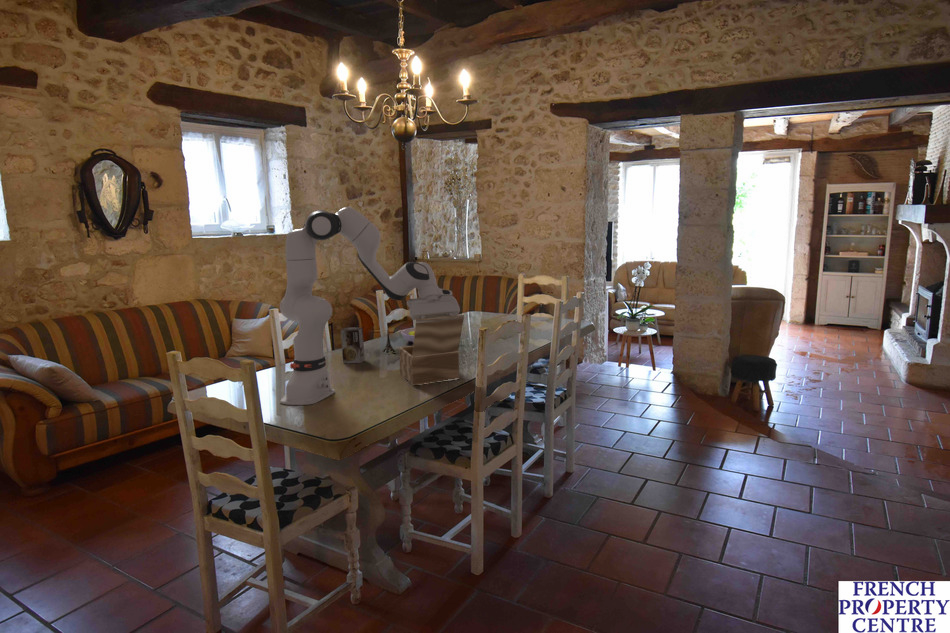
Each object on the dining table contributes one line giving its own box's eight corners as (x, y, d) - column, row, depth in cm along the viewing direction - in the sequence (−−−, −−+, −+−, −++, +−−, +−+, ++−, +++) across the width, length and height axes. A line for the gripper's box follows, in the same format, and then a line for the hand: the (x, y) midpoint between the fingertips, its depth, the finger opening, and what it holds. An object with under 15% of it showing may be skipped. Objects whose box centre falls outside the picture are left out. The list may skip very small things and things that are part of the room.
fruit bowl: (391, 342, 314) (390, 322, 312) (429, 334, 333) (428, 314, 331) (425, 350, 294) (424, 328, 292) (463, 340, 313) (462, 320, 311)
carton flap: (416, 319, 220) (416, 320, 219) (463, 314, 227) (464, 315, 226) (412, 355, 230) (412, 356, 230) (457, 350, 237) (458, 351, 237)
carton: (400, 374, 251) (398, 347, 248) (443, 368, 258) (442, 342, 256) (412, 386, 232) (411, 357, 230) (459, 379, 240) (458, 351, 237)
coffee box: (365, 359, 277) (363, 327, 274) (361, 363, 271) (359, 329, 268) (346, 359, 278) (344, 327, 275) (342, 363, 272) (340, 329, 269)
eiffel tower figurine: (370, 355, 289) (368, 329, 286) (379, 350, 298) (377, 325, 296) (398, 356, 285) (396, 329, 282) (405, 351, 294) (404, 325, 292)
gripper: (406, 294, 227) (415, 323, 220) (455, 290, 234) (464, 318, 227) (404, 304, 232) (412, 332, 225) (452, 299, 239) (461, 327, 232)
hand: (439, 325), depth 226 cm, fingers open, 8 cm apart
